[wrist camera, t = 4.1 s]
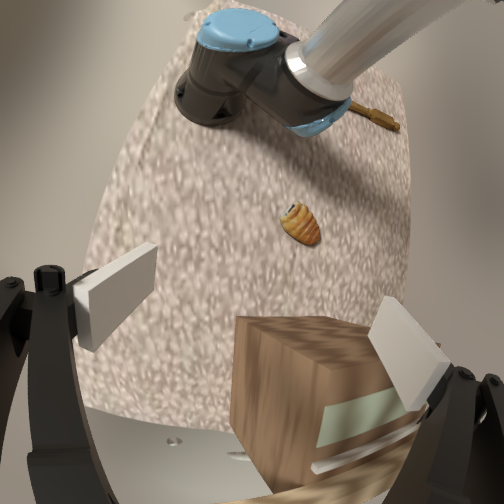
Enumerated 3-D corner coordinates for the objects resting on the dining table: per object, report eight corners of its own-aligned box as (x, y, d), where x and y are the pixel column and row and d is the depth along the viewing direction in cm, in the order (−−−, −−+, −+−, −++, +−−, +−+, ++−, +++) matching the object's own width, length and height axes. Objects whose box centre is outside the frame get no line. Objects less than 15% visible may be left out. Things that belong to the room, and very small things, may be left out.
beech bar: (200, 522, 17) (208, 547, 13) (198, 504, 17) (208, 531, 13) (408, 456, 28) (425, 465, 24) (415, 437, 28) (433, 445, 24)
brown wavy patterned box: (229, 423, 49) (298, 527, 19) (236, 316, 51) (338, 374, 21) (311, 411, 55) (404, 477, 26) (324, 316, 57) (447, 345, 28)
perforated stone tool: (235, 41, 53) (244, 24, 47) (239, 31, 54) (248, 14, 47) (288, 62, 58) (300, 47, 52) (290, 51, 59) (302, 36, 52)
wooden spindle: (322, 85, 58) (401, 122, 68) (316, 91, 61) (394, 125, 71) (323, 94, 58) (402, 130, 68) (317, 99, 61) (395, 133, 70)
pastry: (322, 230, 58) (332, 228, 55) (304, 253, 56) (314, 253, 53) (293, 199, 56) (302, 195, 52) (273, 222, 54) (282, 219, 51)
